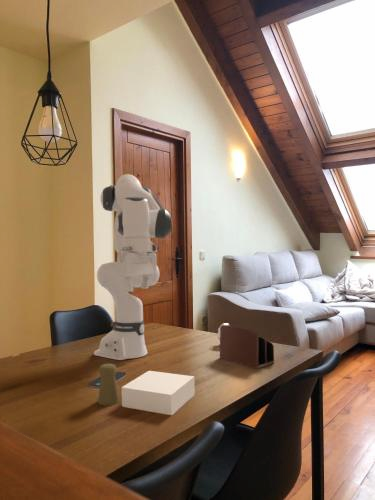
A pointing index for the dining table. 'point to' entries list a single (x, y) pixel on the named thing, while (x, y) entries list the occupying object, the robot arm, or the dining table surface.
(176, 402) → the white block
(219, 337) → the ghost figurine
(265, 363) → the letter holder
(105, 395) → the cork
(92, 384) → the smartphone
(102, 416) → the dining table surface
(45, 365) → the dining table surface
